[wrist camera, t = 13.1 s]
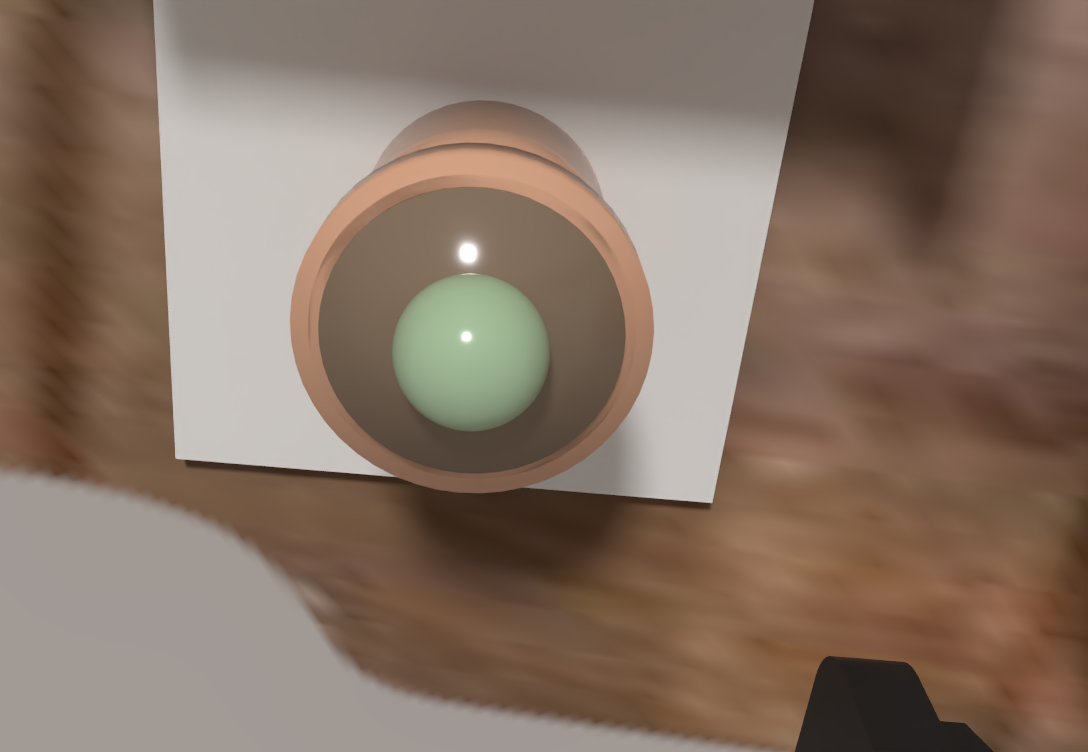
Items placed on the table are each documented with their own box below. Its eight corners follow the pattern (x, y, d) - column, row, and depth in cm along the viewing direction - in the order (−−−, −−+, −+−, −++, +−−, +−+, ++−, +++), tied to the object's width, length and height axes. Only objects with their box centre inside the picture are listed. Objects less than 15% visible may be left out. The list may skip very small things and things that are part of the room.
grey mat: (822, -70, 22) (828, -69, 22) (709, 493, 28) (711, 503, 27) (154, -148, 21) (146, -149, 21) (181, 449, 27) (175, 458, 26)
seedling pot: (636, 102, 23) (702, 209, 15) (598, 356, 25) (637, 570, 17) (355, 71, 23) (262, 164, 14) (346, 334, 25) (263, 539, 17)
